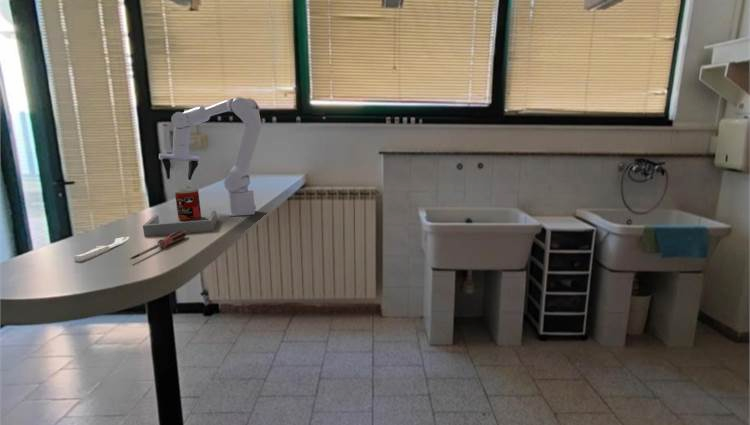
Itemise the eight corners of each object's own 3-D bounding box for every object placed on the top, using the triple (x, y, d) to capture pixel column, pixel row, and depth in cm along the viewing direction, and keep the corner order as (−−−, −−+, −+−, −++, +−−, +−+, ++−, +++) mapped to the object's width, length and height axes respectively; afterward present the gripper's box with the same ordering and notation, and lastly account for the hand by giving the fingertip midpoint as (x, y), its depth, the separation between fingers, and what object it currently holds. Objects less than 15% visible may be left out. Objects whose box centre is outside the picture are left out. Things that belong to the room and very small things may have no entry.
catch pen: (217, 220, 149) (216, 210, 148) (212, 230, 135) (211, 220, 134) (155, 224, 144) (154, 215, 143) (144, 236, 130) (142, 225, 129)
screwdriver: (136, 264, 104) (134, 253, 103) (125, 264, 104) (123, 253, 104) (189, 237, 128) (188, 228, 127) (180, 237, 128) (179, 228, 128)
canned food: (173, 220, 150) (169, 191, 148) (189, 215, 157) (185, 187, 155) (190, 221, 148) (187, 191, 145) (205, 216, 155) (202, 188, 153)
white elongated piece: (129, 230, 136) (151, 229, 136) (129, 234, 136) (151, 234, 136) (53, 256, 107) (81, 256, 106) (54, 262, 107) (82, 262, 106)
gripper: (198, 144, 163) (195, 177, 166) (158, 140, 154) (156, 175, 157) (203, 147, 158) (200, 181, 161) (161, 143, 149) (159, 179, 152)
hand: (178, 178), depth 159 cm, fingers open, 7 cm apart
